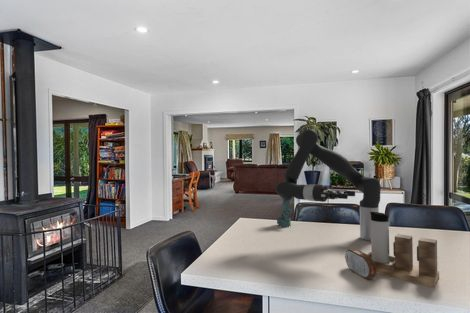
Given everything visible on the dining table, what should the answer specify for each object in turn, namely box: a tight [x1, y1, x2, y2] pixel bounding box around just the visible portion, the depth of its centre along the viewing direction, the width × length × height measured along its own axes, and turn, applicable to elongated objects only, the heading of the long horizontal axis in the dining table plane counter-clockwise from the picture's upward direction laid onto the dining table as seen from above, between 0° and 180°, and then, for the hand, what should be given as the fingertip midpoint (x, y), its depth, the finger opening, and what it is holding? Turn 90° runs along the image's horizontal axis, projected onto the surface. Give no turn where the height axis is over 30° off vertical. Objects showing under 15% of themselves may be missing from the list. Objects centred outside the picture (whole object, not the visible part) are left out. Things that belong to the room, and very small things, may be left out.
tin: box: [344, 247, 377, 280], centre depth 105 cm, size 15×3×8 cm, turn 12°
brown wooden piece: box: [366, 233, 440, 288], centre depth 106 cm, size 24×11×14 cm, turn 47°
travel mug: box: [370, 212, 390, 264], centre depth 110 cm, size 6×7×20 cm
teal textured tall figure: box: [276, 199, 294, 228], centre depth 181 cm, size 14×10×25 cm
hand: (351, 194), depth 118 cm, fingers open, 8 cm apart
